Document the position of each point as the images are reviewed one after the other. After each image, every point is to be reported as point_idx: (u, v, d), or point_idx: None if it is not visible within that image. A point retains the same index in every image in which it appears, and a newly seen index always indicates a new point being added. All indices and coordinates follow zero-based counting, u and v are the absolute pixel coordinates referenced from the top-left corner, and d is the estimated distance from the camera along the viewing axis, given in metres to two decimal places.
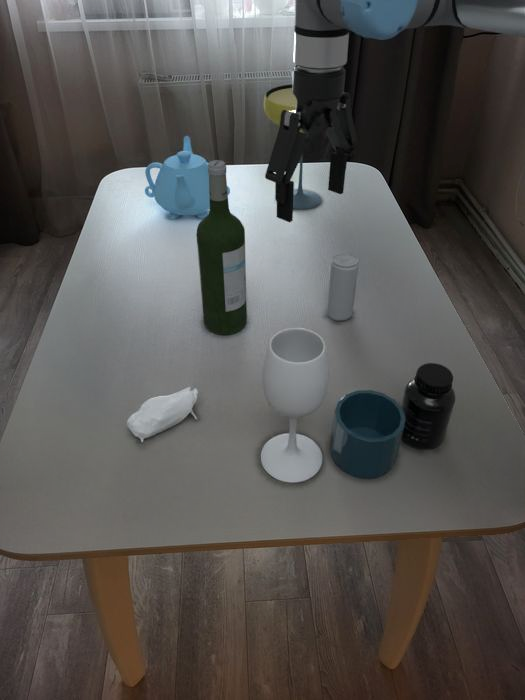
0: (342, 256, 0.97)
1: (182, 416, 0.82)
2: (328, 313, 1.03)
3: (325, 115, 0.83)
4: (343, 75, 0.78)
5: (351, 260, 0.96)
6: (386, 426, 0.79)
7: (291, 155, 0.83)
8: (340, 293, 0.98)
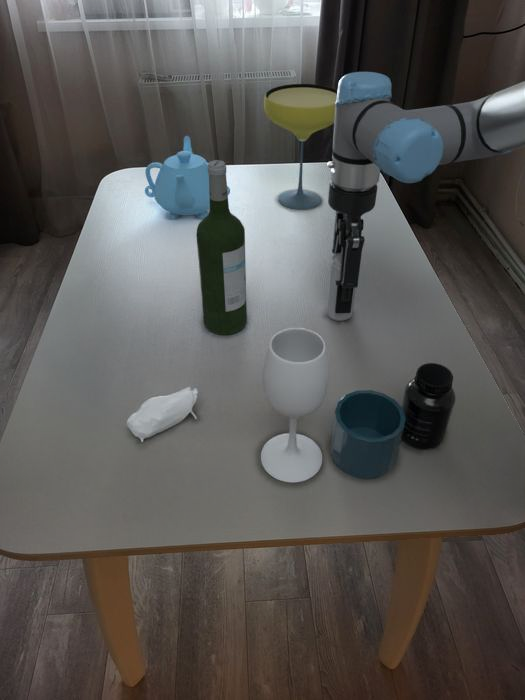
0: None
1: (182, 416, 0.82)
2: (328, 313, 1.03)
3: None
4: None
5: None
6: (386, 426, 0.79)
7: None
8: None
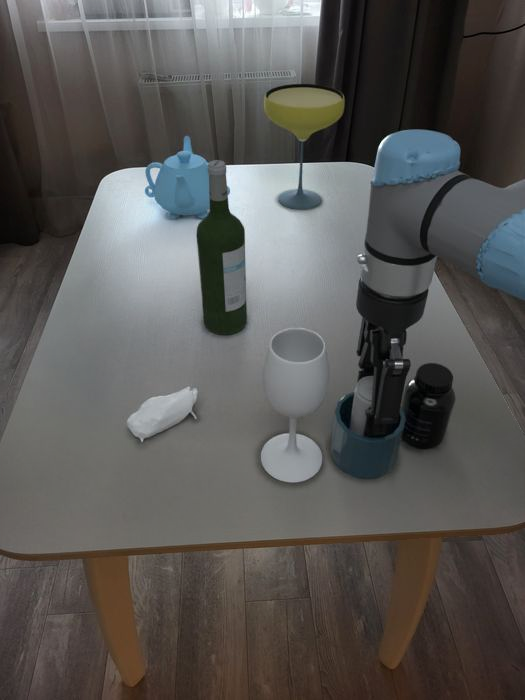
0: (370, 382, 0.72)
1: (182, 416, 0.82)
2: None
3: None
4: None
5: None
6: None
7: None
8: None
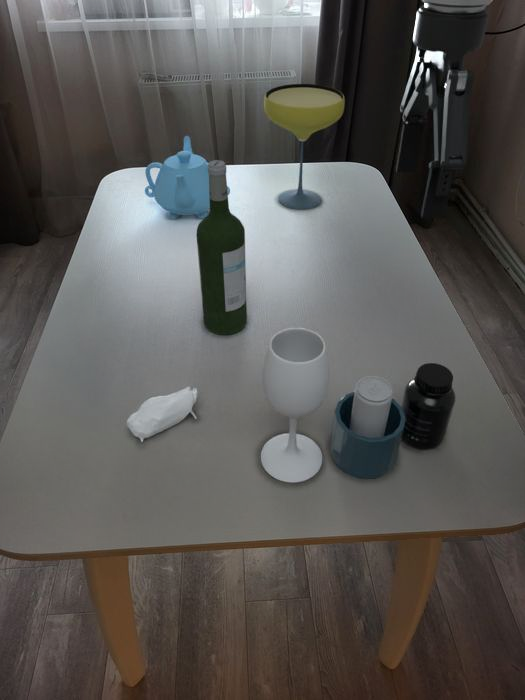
0: (370, 382, 0.72)
1: (182, 416, 0.82)
2: None
3: None
4: None
5: (383, 389, 0.71)
6: (386, 426, 0.79)
7: None
8: (367, 430, 0.73)
